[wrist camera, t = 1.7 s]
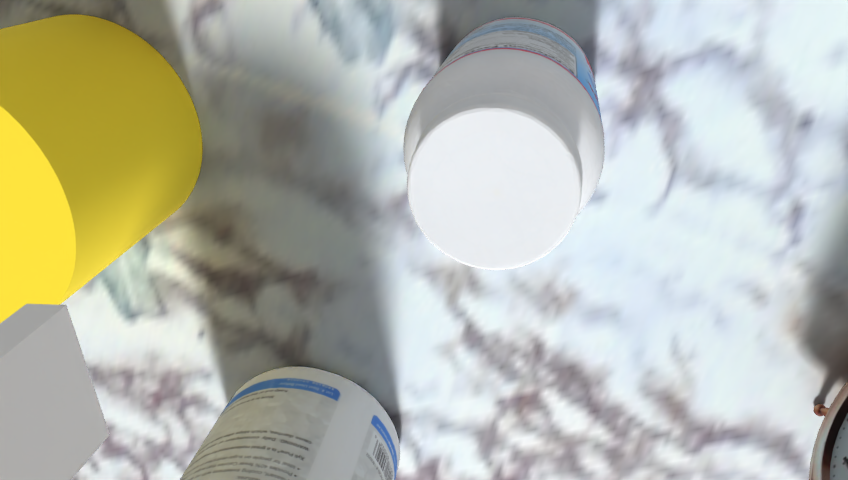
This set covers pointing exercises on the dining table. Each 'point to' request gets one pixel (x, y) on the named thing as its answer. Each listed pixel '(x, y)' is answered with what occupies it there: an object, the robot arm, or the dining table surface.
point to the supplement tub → (299, 432)
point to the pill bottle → (504, 144)
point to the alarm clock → (831, 441)
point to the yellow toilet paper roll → (85, 152)
